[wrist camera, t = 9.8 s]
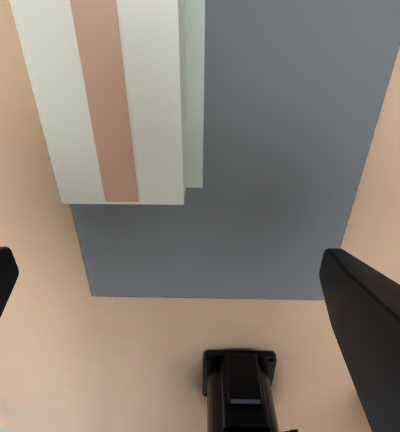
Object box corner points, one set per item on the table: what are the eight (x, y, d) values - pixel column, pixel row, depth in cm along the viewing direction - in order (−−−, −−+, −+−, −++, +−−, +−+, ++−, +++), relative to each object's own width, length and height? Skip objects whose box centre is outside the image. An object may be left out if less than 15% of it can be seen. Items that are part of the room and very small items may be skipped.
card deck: (183, -14, 14) (176, -28, 11) (187, 172, 19) (183, 205, 15) (51, -13, 14) (1, -27, 11) (87, 171, 19) (60, 204, 15)
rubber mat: (322, 296, 24) (324, 301, 24) (93, 292, 25) (91, 297, 24) (432, -84, 13) (440, -88, 13) (6, -86, 13) (-1, -90, 13)
